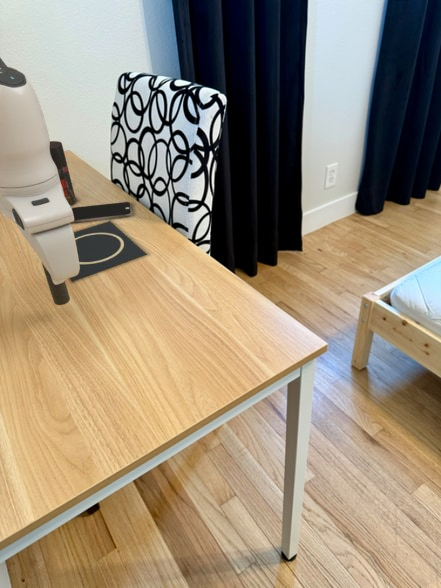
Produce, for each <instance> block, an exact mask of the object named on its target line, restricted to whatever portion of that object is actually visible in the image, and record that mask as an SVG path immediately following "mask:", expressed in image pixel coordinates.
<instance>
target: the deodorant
mask: <svg viewBox="0 0 441 588" xmlns="http://www.w3.org/2000/svg"><path fill="white" fill-rule="evenodd" d="M49 149H50V155H51V158H52V160H53V161H54V163H55V165H56V167H57V170H58V174H59V178H60V182H61V185H62V188H63V192H64V196H65V197H66V199H67V201H68V203H69V205H70V207H72V206H73V205H75V204H76V203H77V199H76V194H75V191H74V186H73V183H72V178H71V174H70V171H69V166H68V162H67V159H66V154H65V151H64V147H63V143H62V142H61V141H59V140H58V141H57V140H50V146H49Z"/></svg>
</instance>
